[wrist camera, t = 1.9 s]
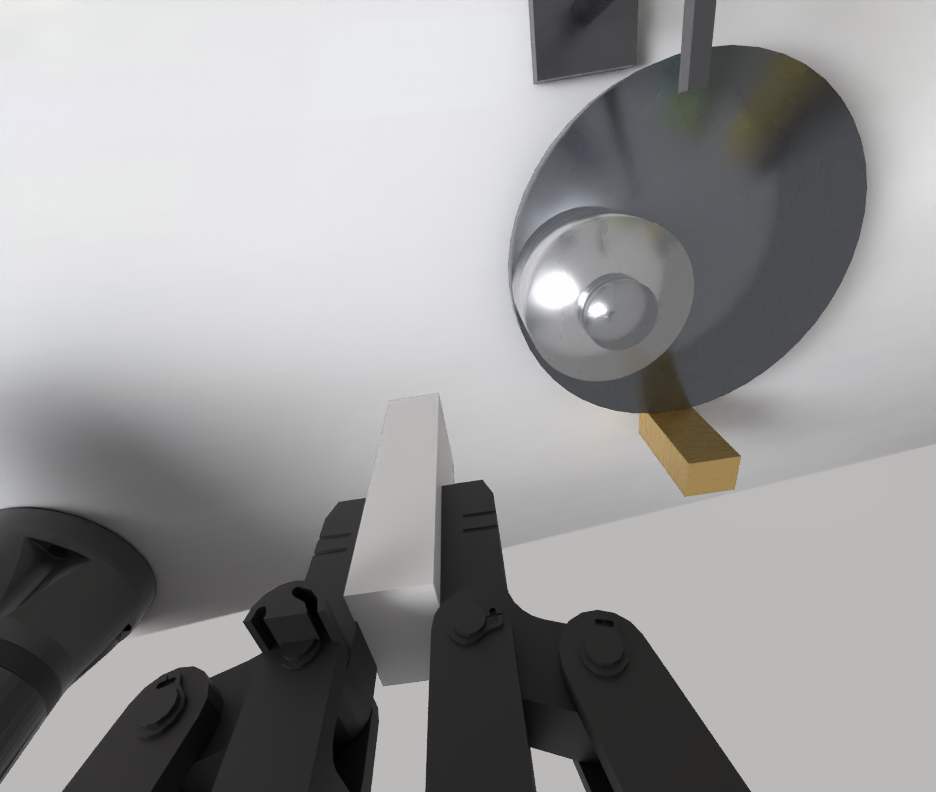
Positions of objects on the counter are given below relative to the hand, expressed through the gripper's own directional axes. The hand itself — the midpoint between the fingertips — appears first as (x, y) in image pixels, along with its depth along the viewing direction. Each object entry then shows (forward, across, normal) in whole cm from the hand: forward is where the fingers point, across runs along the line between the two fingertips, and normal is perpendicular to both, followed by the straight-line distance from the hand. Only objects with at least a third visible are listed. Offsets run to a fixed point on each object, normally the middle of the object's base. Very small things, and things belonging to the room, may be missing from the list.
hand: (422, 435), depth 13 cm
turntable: (+15, +15, -1) cm, 21 cm away
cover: (+14, +9, 0) cm, 16 cm away
